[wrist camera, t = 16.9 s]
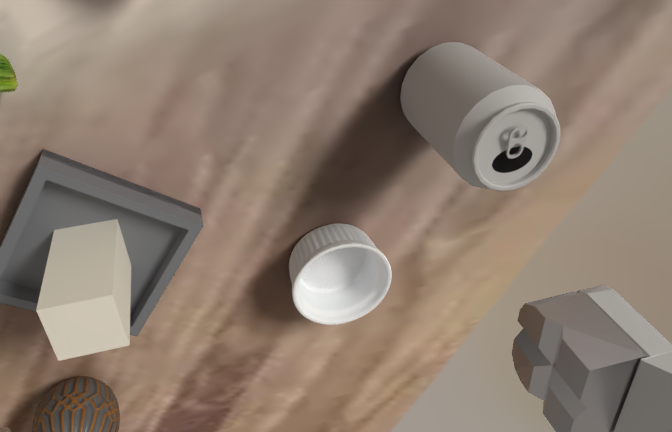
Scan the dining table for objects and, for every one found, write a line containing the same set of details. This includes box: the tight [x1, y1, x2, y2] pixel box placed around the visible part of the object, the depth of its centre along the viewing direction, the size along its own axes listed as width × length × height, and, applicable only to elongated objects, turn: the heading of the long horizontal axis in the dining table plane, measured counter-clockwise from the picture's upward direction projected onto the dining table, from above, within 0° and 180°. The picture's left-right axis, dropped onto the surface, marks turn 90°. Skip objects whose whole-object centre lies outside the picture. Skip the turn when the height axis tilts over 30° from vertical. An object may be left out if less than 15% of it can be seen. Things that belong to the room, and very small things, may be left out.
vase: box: [32, 376, 120, 432], centre depth 49 cm, size 7×7×9 cm
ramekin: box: [289, 223, 392, 325], centre depth 51 cm, size 9×9×4 cm
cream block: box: [36, 219, 131, 361], centre depth 41 cm, size 4×4×9 cm
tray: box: [0, 149, 203, 336], centre depth 44 cm, size 12×12×2 cm
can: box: [400, 42, 560, 191], centre depth 41 cm, size 8×8×12 cm
